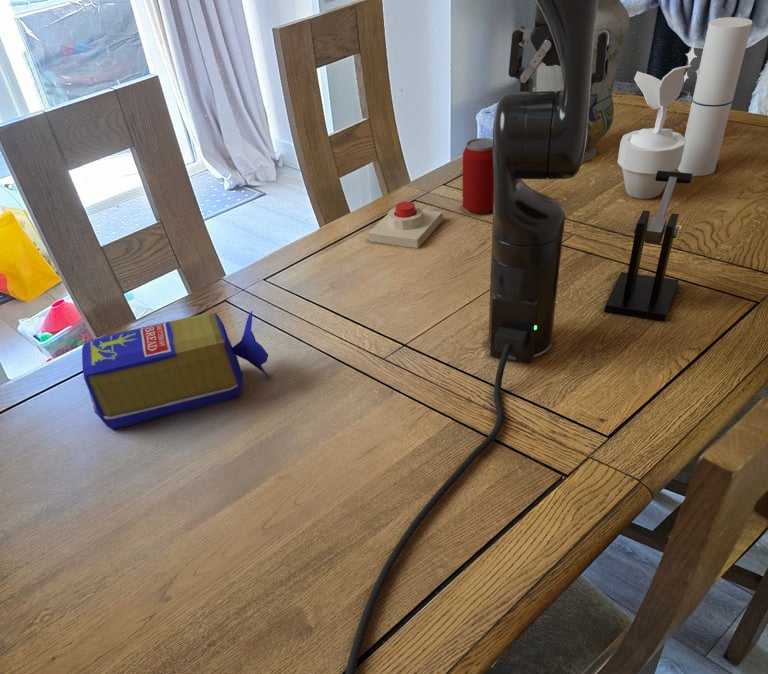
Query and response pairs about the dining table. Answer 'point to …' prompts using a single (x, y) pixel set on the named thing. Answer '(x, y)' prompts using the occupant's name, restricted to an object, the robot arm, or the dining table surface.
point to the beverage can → (478, 176)
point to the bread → (166, 368)
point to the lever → (664, 204)
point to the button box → (406, 228)
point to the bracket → (645, 279)
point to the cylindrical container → (714, 93)
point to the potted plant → (653, 136)
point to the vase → (601, 105)
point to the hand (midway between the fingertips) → (553, 110)
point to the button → (405, 209)
